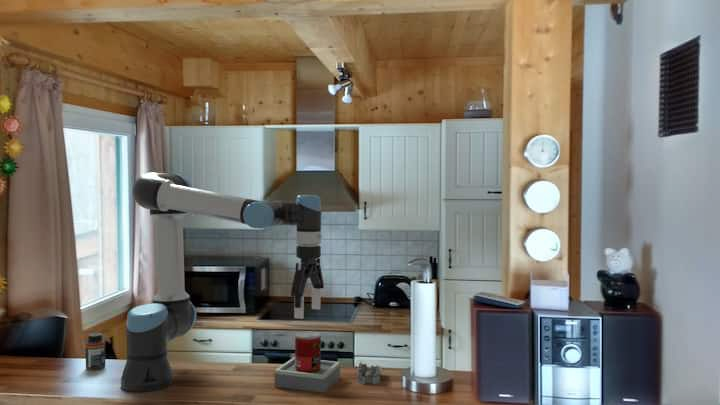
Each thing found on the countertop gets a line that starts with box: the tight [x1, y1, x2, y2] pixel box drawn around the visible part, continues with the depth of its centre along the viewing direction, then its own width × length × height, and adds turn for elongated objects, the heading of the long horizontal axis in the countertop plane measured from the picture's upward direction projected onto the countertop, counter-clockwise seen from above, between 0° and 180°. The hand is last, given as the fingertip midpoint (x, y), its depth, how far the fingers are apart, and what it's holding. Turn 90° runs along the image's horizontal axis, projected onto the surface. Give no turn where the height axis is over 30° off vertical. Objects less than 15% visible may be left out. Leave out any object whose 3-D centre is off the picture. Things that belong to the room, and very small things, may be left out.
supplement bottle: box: [85, 332, 106, 371], centre depth 188 cm, size 6×6×11 cm
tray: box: [274, 356, 341, 394], centre depth 176 cm, size 16×14×5 cm
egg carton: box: [356, 361, 383, 385], centre depth 180 cm, size 11×8×4 cm
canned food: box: [294, 330, 322, 373], centre depth 176 cm, size 8×8×11 cm
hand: (307, 313), depth 176 cm, fingers open, 13 cm apart
